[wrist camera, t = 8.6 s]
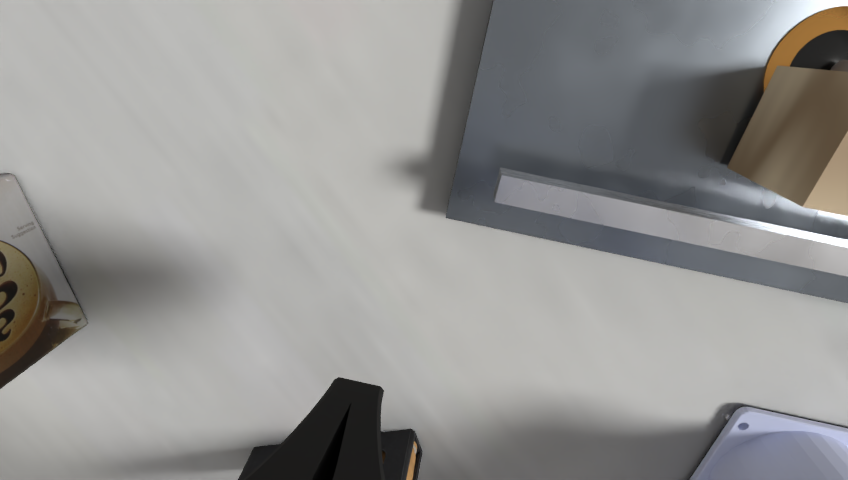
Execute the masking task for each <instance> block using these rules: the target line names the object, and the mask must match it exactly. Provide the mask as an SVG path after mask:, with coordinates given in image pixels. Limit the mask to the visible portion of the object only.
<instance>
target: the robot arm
mask: <svg viewBox="0 0 848 480" xmlns="http://www.w3.org/2000/svg"><path fill="white" fill-rule="evenodd" d="M383 392H384V390H383V389H382V388H381V387H380V386H376V385H371V384H367V383H362V382H358V381H353V380H349V379H344V378H340V377H339V378H337V379H335V380H334V381H333V383H332V384H331V386H330V387H329V389H328V390H327V391H326V393H325V394H324V395H323V397H322V398H321V399H320V401H319V402H318V403H317V404H316V406H315V407H314V408H313V409H312V410H311V412H310V413H309V414H308V415H307V416H306V417H305V418H304V420H303V421H302V422H301V423H300V424H299V425H298V426H297V427H296V429H295V430H294V431H293V432H292V433H291V434H290V435H289V436H288V437H287V438H286V439H285V440H284V441H283V442H282V443H281V444H280V445H279V446H278V447H277V448H276V449H275V450H274V451H273V452H272V453H271V454H270V455H269V456H268V457H267V458H266V459H265V460H264V461H263V462H262V463H261V464H260V465H259V466H258V467H257V468H256V469H255V470H253V471H252V472H251V473H250V474H249V475H248V476H247V477H246V478H244V479H243V480H385V476H384V469H383V459H382V447H381V428H380V427H381V403H382V397H383ZM690 480H848V428H844V427H839V426H834V425H830V424H825V423H821V422H816V421H811V420H807V419H802V418H798V417H793V416H788V415H784V414H779V413H775V412H770V411H765V410H761V409H756V408H752V407H741V408H739V409H737V410H736V411H735V412H734V414H733V415H732V417H731V418H730V420H729V421H728V423H727V424H726V426H725V427H724V429H723V430H722V432H721V433H720V435H719V436H718V438H717V439H716V441H715V442H714V444H713V445H712V447H711V448H710V450H709V451H708V453H707V454H706V456H705V457H704V459H703V460H702V462H701V463H700V465H699V466H698V468H697V469H696V471H695V472H694V474H693V475H692V477H691V478H690Z"/></svg>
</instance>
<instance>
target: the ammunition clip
mask: <svg viewBox="0 0 848 480" xmlns="http://www.w3.org/2000/svg"><path fill="white" fill-rule="evenodd" d="M279 445H280V444H277V445H268V446H260V447H254V449H253V451H252V453H251V455H250V457H249V459H248V461H247V463H246V465H245V467H244V469H243V471H242V473H241V475H240V477H239V479H238V480H243V479H244V478H246V477H247V476H248V475H249V474H250V473H251V472H252V471H253V470H255V469H256V468H257V467H258V466H259V465H260V464H261V463H262V462H263V461H264V460H265V459H266V458H267V457H268V456H269V455H270V454H271V453H272V452H273V451H274V450H275V449H276V448H277V447H278V446H279ZM381 447H382V459H383V469H384V476H385V480H417V478H418V473H419V468H420V462H421V457H422V450H421V447H420V444H419V442H418V439H417V436H416V433H415V431H413V430H412V429H407V430H399V431H390V432H381Z"/></svg>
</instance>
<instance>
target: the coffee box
mask: <svg viewBox="0 0 848 480" xmlns="http://www.w3.org/2000/svg"><path fill="white" fill-rule="evenodd" d="M86 325H87V320H86V318H85V316H84V314H83V312H82V310H81V308H80V306H79V304H78V302H77V300H76V298H75V296H74V294H73V292H72V290H71V288H70V286H69V284H68V282H67V280H66V278H65V276H64V274H63V272H62V270H61V268H60V266H59V264H58V262H57V260H56V258H55V256H54V254H53V252H52V250H51V248H50V246H49V244H48V242H47V240H46V238H45V236H44V234H43V232H42V230H41V228H40V226H39V224H38V222H37V220H36V218H35V216H34V214H33V212H32V210H31V208H30V206H29V204H28V202H27V200H26V198H25V196H24V194H23V192H22V190H21V187H20V185H19V183H18V181H17V180H16V178H15V176H14V175H12V174H0V389H1V388H2V387H4V386H5V385H6V384H7V383H9V382H10V381H12V380H13V379H14V378H16V377H17V376H18V375H20V374H21V373H22V372H24V371H25V370H26V369H28V368H29V367H30V366H32V365H33V364H34V363H36V362H37V361H38V360H40V359H41V358H42V357H44V356H45V355H46V354H48V353H49V352H50V351H52V350H53V349H54V348H56V347H57V346H58V345H60V344H61V343H62V342H64V341H65V340H66V339H68V338H69V337H70V336H72V335H73V334H74V333H76V332H77V331H79V330H80V329H82V328H83V327H85V326H86Z"/></svg>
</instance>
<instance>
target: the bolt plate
mask: <svg viewBox="0 0 848 480" xmlns="http://www.w3.org/2000/svg"><path fill="white" fill-rule="evenodd" d="M842 60H848V0H493V4H492V9H491V13H490V18H489V22H488V27H487V31H486V36H485V40H484V45H483V49H482V54H481V58H480V63H479V67H478V72H477V77H476V81H475V86H474V90H473V95H472V99H471V104H470V108H469V113H468V117H467V122H466V126H465V131H464V135H463V140H462V144H461V149H460V153H459V158H458V162H457V167H456V171H455V176H454V180H453V185H452V189H451V194H450V199H449V203H448V208H447V213H446V218H449V219H454V220H459V221H463V222H468V223H473V224H477V225H482V226H487V227H492V228H496V229H501V230H506V231H510V232H515V233H520V234H525V235H529V236H534V237H539V238H544V239H548V240H553V241H558V242H562V243H567V244H572V245H577V246H581V247H586V248H591V249H595V250H600V251H605V252H610V253H614V254H619V255H624V256H628V257H633V258H638V259H643V260H647V261H652V262H657V263H661V264H666V265H671V266H676V267H680V268H685V269H690V270H695V271H699V272H704V273H709V274H713V275H718V276H723V277H728V278H732V279H737V280H742V281H746V282H751V283H756V284H761V285H765V286H770V287H775V288H779V289H784V290H789V291H794V292H798V293H803V294H808V295H812V296H817V297H822V298H827V299H831V300H836V301H841V302H846V303H848V277H847V276H842V275H838V274H833V273H828V272H823V271H819V270H814V269H809V268H804V267H800V266H795V265H790V264H785V263H781V262H776V261H771V260H766V259H762V258H757V257H752V256H747V255H743V254H738V253H733V252H728V251H724V250H719V249H714V248H709V247H705V246H700V245H695V244H690V243H686V242H681V241H676V240H671V239H667V238H662V237H657V236H652V235H648V234H643V233H638V232H633V231H629V230H624V229H619V228H615V227H610V226H605V225H600V224H596V223H591V222H586V221H581V220H577V219H572V218H567V217H562V216H558V215H553V214H548V213H543V212H539V211H534V210H529V209H524V208H520V207H515V206H510V205H505V204H501V203H496V202H494V189H495V186H496V182H497V178H498V174H499V170H500V167H501V168H506V169H510V170H515V171H520V172H525V173H529V174H534V175H539V176H544V177H549V178H553V179H558V180H563V181H568V182H572V183H577V184H582V185H587V186H592V187H596V188H601V189H606V190H611V191H616V192H620V193H625V194H630V195H635V196H639V197H644V198H649V199H654V200H659V201H663V202H668V203H673V204H678V205H682V206H687V207H692V208H697V209H702V210H706V211H711V212H716V213H721V214H726V215H730V216H735V217H740V218H745V219H749V220H754V221H759V222H764V223H769V224H773V225H778V226H783V227H788V228H792V229H797V230H802V231H807V232H812V233H816V234H821V235H826V236H831V237H835V238H840V239H845V240H848V216H844V215H839V214H834V213H829V212H824V211H820V210H815V209H810V208H805V207H802V206H800V205H798V204H796V203H794V202H792V201H790V200H788V199H786V198H784V197H782V196H780V195H778V194H777V193H775V192H773V191H771V190H769V189H767V188H765V187H763V186H761V185H759V184H757V183H755V182H753V181H751V180H750V179H748V178H746V177H744V176H742V175H740V174H738V173H736V172H734V171H732V170H730V169H728V168H727V167H728V165H729V163H730V161H731V158H732V156H733V154H734V152H735V150H736V148H737V146H738V144H739V142H740V140H741V138H742V136H743V134H744V132H745V130H746V128H747V126H748V124H749V122H750V120H751V118H752V116H753V114H754V112H755V110H756V108H757V106H758V104H759V102H760V100H761V98H762V96H763V94H764V92H765V90H766V88H767V86H768V84H769V82H770V80H771V78H772V76H773V74H774V72H775V70H776V68H777V66H788V67H799V68H810V69H821V70H831V68H832V67H833V66H834V65H835V64H836V63H837V62H839V61H842Z"/></svg>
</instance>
